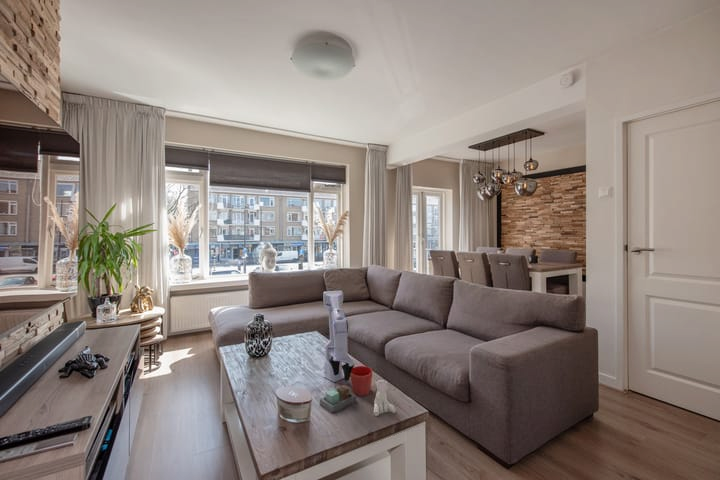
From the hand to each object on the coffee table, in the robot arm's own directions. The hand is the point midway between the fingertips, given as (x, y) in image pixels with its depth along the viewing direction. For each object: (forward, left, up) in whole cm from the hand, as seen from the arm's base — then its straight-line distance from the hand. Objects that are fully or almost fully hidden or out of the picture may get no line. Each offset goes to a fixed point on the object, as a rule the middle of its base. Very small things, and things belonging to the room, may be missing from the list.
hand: (341, 377), depth 138 cm
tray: (+1, -3, -10) cm, 10 cm away
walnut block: (+1, 0, -9) cm, 9 cm away
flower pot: (0, +11, -10) cm, 15 cm away
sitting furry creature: (+17, +7, -10) cm, 21 cm away
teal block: (+1, -6, -9) cm, 11 cm away
